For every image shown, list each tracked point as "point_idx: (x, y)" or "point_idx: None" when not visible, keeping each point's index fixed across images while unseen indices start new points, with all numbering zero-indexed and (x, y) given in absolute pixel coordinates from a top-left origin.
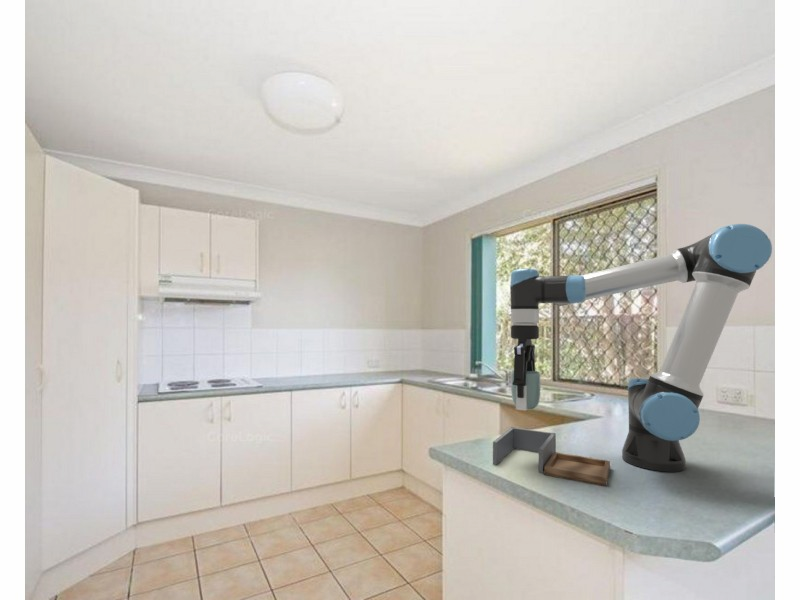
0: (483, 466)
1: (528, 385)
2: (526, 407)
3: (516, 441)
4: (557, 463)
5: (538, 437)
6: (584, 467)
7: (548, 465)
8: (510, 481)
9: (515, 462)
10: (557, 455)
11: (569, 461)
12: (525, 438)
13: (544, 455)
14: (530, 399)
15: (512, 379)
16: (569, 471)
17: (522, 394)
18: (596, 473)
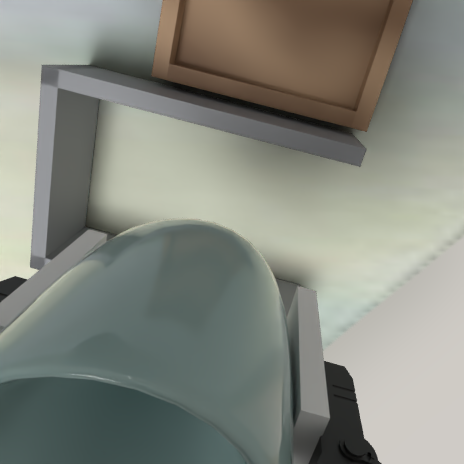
0: (325, 322)
1: (292, 396)
2: (310, 299)
3: (73, 226)
4: (238, 68)
5: (67, 146)
6: None
7: (347, 114)
8: (453, 244)
9: (250, 224)
10: (172, 63)
11: (195, 12)
12: (67, 197)
13: (323, 133)
14: (282, 300)
15: None
16: (402, 29)
17: (353, 391)
18: None
